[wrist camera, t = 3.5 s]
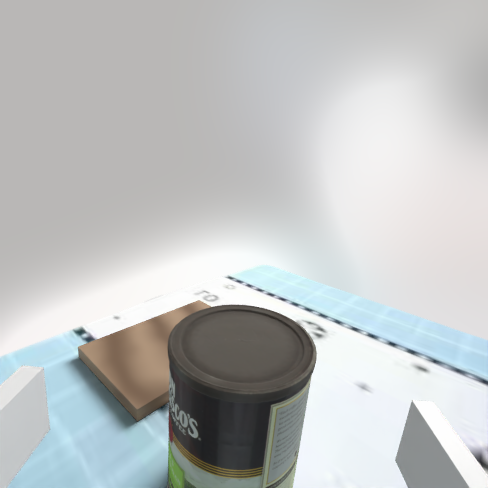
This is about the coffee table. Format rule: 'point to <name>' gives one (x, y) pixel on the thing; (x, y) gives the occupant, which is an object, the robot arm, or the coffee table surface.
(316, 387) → the coffee table surface
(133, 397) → the walnut board
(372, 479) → the coffee table surface
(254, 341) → the coffee can
